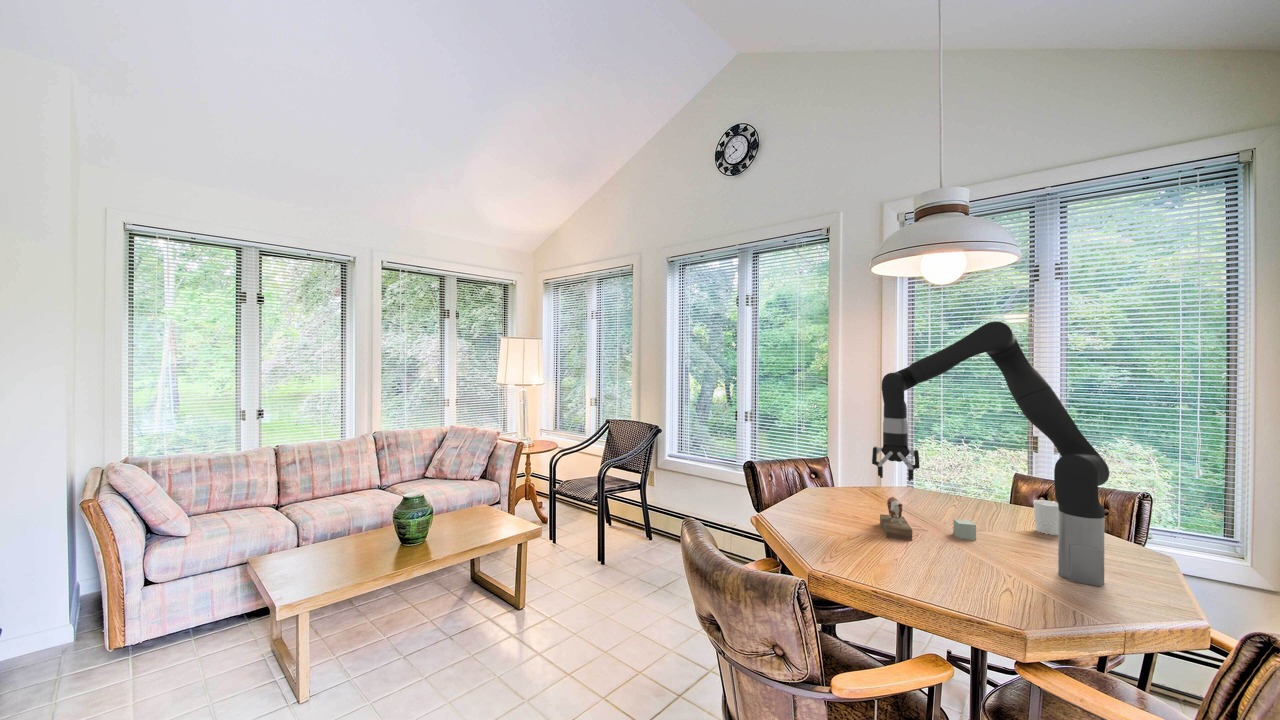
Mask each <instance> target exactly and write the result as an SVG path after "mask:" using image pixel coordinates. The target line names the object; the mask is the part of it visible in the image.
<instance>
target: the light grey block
mask: <svg viewBox="0 0 1280 720" xmlns="http://www.w3.org/2000/svg"><path fill="white" fill-rule="evenodd" d="M1058 513H1059V509H1058V502H1057V501H1053V500H1046V499H1035V500H1033V514H1034V522H1035V525H1034V526H1035V530H1036V532H1038V533H1040V532H1041V534H1043V533H1045V534H1044V535H1048V534H1050V535H1049V536H1058Z"/></svg>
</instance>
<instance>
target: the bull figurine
mask: <svg viewBox="0 0 1280 720" xmlns="http://www.w3.org/2000/svg"><path fill="white" fill-rule="evenodd" d="M886 505H887V510H888V515H889V517H888V519H891V517H892V519H891V523H894V516H895V517H896V518H898V516H899V525H902V523H901V516H903V515H902V513H903V504H902V503H901V502H900V500H898V498H895V497H894V496H891V497H889V498H888V499H887V502H886Z"/></svg>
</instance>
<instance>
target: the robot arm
mask: <svg viewBox="0 0 1280 720" xmlns="http://www.w3.org/2000/svg"><path fill="white" fill-rule="evenodd" d="M984 353H986V354H987V355H988V357H989V358H991V360H992V361H993V362H994V363H995V365H996V366H997V367H998V369H999V370H1000V372H1001V374H1002V375H1003V378H1004V380H1005V383H1006V384H1007V387H1008V389H1009V391H1010V394H1011V395H1012V397H1013V399H1014V401H1015V403H1016V404H1017V406H1018V407H1019V409H1020V411H1021V412H1022V414H1023V415H1024V416H1025V418H1026V419H1027V420H1028V421H1029V422H1030V423H1031V424H1032V425H1034V426H1035V427H1036V429H1038V430H1039V431H1040V432H1041V433H1042V434H1044V435H1045V436H1046V438H1048V439H1049V440H1050V441H1051V442H1052V444H1053V445H1054V447H1055V448H1056V450H1057V451H1058V453H1059V455H1060V457H1059V458H1058V459H1057V460H1056V461H1055V464H1054V468H1053V469H1054V470H1053V473H1054V475H1053V477H1054V478H1053V481H1054V482H1053V483H1054V496H1055V500H1056V502H1057V503H1058V509H1059V513H1058V535H1057V536H1058V537H1057V538H1058V539H1057V540H1058V541H1057V543H1058V549H1057V550H1058V551H1057V552H1058V553H1057V555H1058V556H1057V557H1058V561H1057V562H1058V564H1057V565H1058V569H1057V570H1058V571H1057V572H1058V575H1059V576H1061V577H1063V578H1065V579H1067V580H1069V582H1072V583H1073V582H1074V583H1078V584H1085V585H1089V586H1090V585H1091V586H1096V587H1102V586H1103V585H1104V584H1105V506H1103V505H1102V504H1101V503H1100V501H1099V500H1100V499H1099V486H1102V485H1104V484H1106V483H1107V482H1108V480H1109V478H1110V469H1109V466H1108V464H1107V463H1106V461H1105V460H1104V459H1103V457H1102V455H1100V453H1099V452H1098V451H1097V450H1096V449H1095V448H1094V447H1093V445H1091V443H1090V442H1089V441H1088V439H1087V438H1086V437H1085V436H1084V434H1083V433H1082V432H1081V430H1080V429H1079V427H1078V426H1077V424H1076V423H1075V421H1074V420H1073V418H1072V417H1071V415H1070V414H1069V412H1068V410H1067V409H1066V408H1065V407H1064V405H1063V403H1062V401H1061V399H1059V397H1058V395H1057V394H1056V393H1055V390H1054V389H1053V388H1052V387H1051V385H1050V384H1049V383H1048V382H1047V380H1046V379H1045V378H1044V377H1043V376H1042V375H1041V373H1040V372H1039V371H1038V370H1037V369H1036V368H1035V367H1034V366H1033V365H1032V364H1031V363H1030V362H1029V359H1028V358H1027V357H1026V355H1025V353H1024V352H1023V350H1022V348H1021V345H1020V343H1019V342H1018V340H1017V337H1016V335H1015V333H1014V332H1013V329H1011V327H1010V326H1009V325H1008V324H1007V323H1005V322H1002V321H989V322H986V323H985V324H983V325H982V326H980V327H978V328H976V329H975V330H974V331H972V332H971V333H969V334H967V335H966V336H964V337H962V338H960V339H958V340H957V341H956V342H954V343H953V344H950V345H949V346H947V347H945V348H942V349H940V350H938V351H937V352H934V353H932V354H930V355H928V356H925V357H923V358H921V359H918V360H917V361H914V362H913V363H911V364H910V365H909V366H907V367H905V368H903V369H899V370H898V371H895V372H889V373H887V374H885V375H884V376H883V377H882V380H881V394H882V400H883V419H882V420H883V423H882V447H878V446H875V445H874V446H873V448H872V457H871V464H872V465H875V466H877V475H878V477H879V478H880V479H883V478H884V473H883V472H884V466H883V465H884V464H885V463H886V462H887V461H890V462H897V463H898V462H899V463H900V462H903V463H904V465H906V467H907V468H908V472H907V473H908V475H907V476H908V482H911V481H912V480H914V470H917V469H920V455H919V454H920V453H919V450H918V449H909V432H908V431H909V427H908V426H909V424H908V410H907V409H908V408H907V403H906V400H905V391H907V390H909V389H911V388H913V387H915V386H917V385H919V384H922V383H924V382H927V381H929V380H932V379H935V378H936V377H939V376H941V375H943V374H944V373H947V372H948V371H950V370H952V369H954V367H956V366H958V365H959V364H960V363H962V362H964V361H966V360H968V359H970V358H972V357H974V356H977V355H980V354H984ZM880 452H882V454H883V455H884V456H883V457H882V459H881V460H880V461H878V460H877V458H878V454H880ZM909 454H911V457H913V458H914V464H912V462H910V459H908V456H909Z"/></svg>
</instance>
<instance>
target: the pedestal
mask: <svg viewBox="0 0 1280 720" xmlns="http://www.w3.org/2000/svg"><path fill="white" fill-rule="evenodd" d="M888 517H889V514H879V525H880V528H881V530H882V531H883V534H884V535H885V538H886V539H894V540H901V541H902V540H903V541H910V542H911V541H913V529H912V527H911V525H910V524H909V523H908V521H907V520H906V518H905V517H904V516H903V515H902V516H901V523H902V525H899V516H898V518H896V517H895V515H894V523H891V519H892V517H891V519H888Z"/></svg>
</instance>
